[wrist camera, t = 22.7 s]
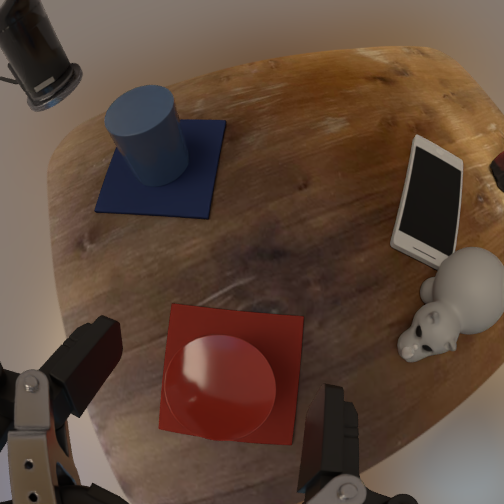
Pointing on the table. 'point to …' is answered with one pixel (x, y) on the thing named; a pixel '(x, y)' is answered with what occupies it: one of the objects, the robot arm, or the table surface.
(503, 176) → the stuffed fox
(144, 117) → the grey-blue cylinder
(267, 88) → the table surface
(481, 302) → the toy rhinoceros
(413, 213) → the smartphone
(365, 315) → the table surface
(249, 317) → the red mat
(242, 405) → the red cylinder
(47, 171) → the table surface
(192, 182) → the blue mat
